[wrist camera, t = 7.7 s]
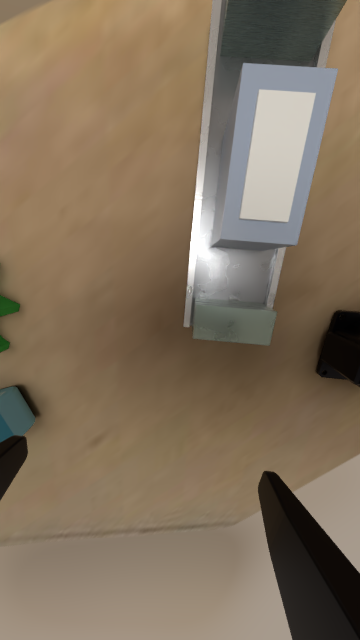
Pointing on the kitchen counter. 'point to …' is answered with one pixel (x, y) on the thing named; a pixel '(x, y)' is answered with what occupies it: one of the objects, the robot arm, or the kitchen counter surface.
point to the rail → (221, 82)
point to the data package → (14, 414)
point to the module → (270, 155)
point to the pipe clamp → (4, 307)
